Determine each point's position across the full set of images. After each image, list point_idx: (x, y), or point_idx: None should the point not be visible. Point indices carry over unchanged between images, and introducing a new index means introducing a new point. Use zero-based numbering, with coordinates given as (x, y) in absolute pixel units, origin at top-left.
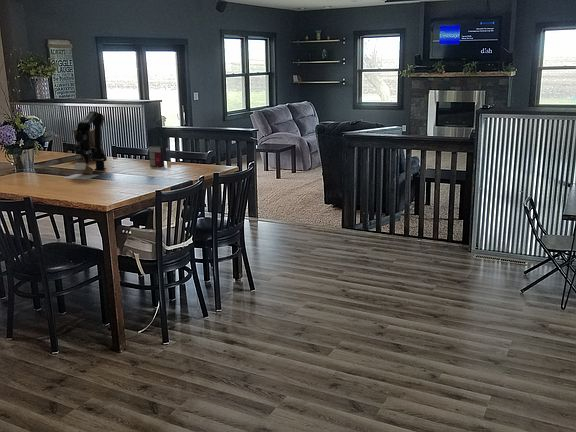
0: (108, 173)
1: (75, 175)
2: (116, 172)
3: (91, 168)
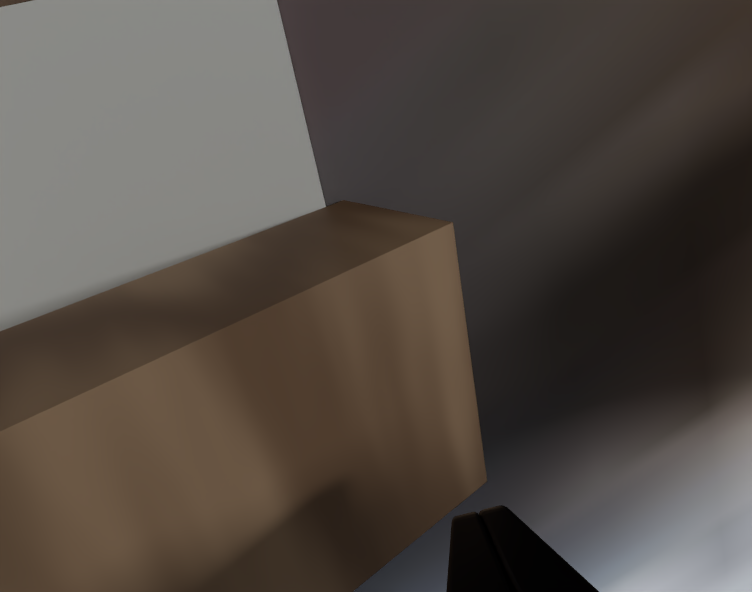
0: (622, 531)
1: (86, 156)
2: (735, 562)
3: (401, 536)
